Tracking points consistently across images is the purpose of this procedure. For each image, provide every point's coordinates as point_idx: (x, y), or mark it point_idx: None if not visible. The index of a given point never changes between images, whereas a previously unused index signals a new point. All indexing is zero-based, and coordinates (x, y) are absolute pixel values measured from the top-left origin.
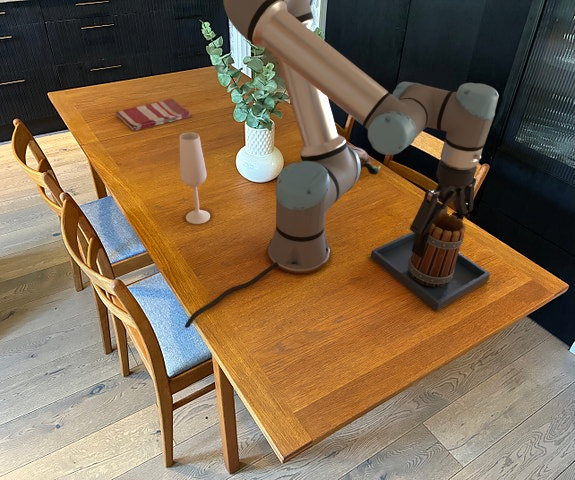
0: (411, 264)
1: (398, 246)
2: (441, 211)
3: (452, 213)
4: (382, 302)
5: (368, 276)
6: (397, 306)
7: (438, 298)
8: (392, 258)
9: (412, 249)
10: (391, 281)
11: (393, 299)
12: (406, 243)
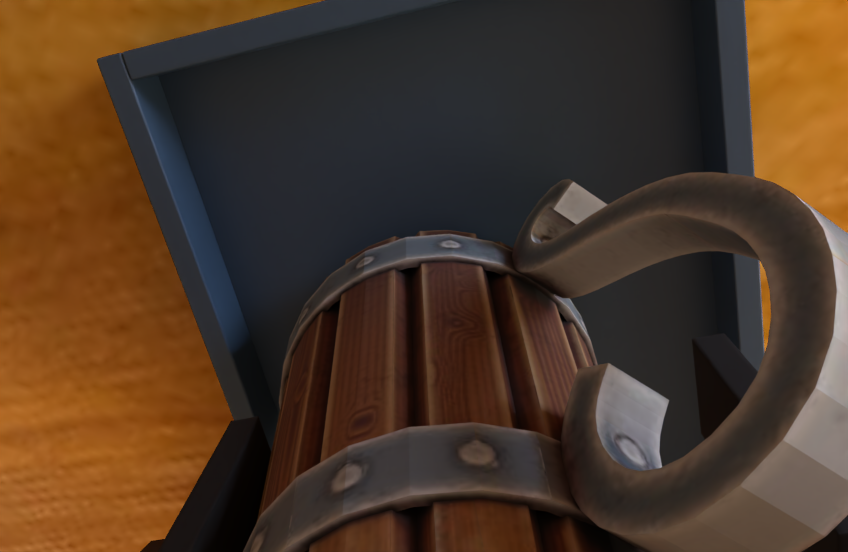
0: (283, 372)
1: (407, 17)
2: (655, 540)
3: (835, 530)
4: (67, 432)
5: (55, 228)
6: (137, 479)
7: None
8: (284, 136)
9: (225, 437)
10: (186, 316)
11: (136, 434)
12: (493, 6)
